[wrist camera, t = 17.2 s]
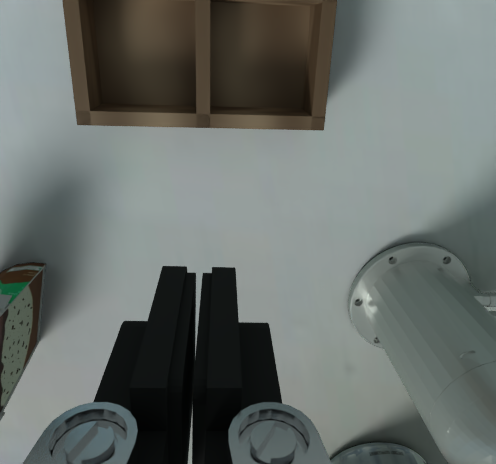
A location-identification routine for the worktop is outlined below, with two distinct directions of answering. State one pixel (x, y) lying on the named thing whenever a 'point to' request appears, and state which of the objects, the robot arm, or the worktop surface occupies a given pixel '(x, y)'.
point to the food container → (18, 323)
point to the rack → (201, 62)
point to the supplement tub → (378, 455)
